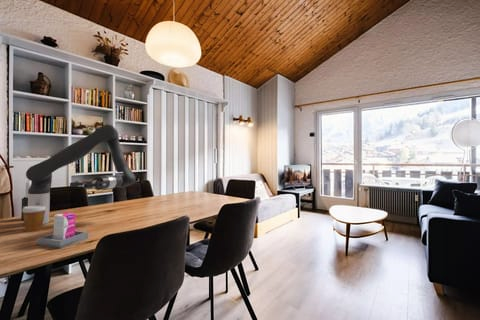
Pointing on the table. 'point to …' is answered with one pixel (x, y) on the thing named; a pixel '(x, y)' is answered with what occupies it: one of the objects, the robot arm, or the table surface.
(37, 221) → the disposable coffee cup
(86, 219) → the table surface
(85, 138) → the robot arm
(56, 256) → the table surface
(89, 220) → the table surface
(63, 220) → the supplement box
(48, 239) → the tray
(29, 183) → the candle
